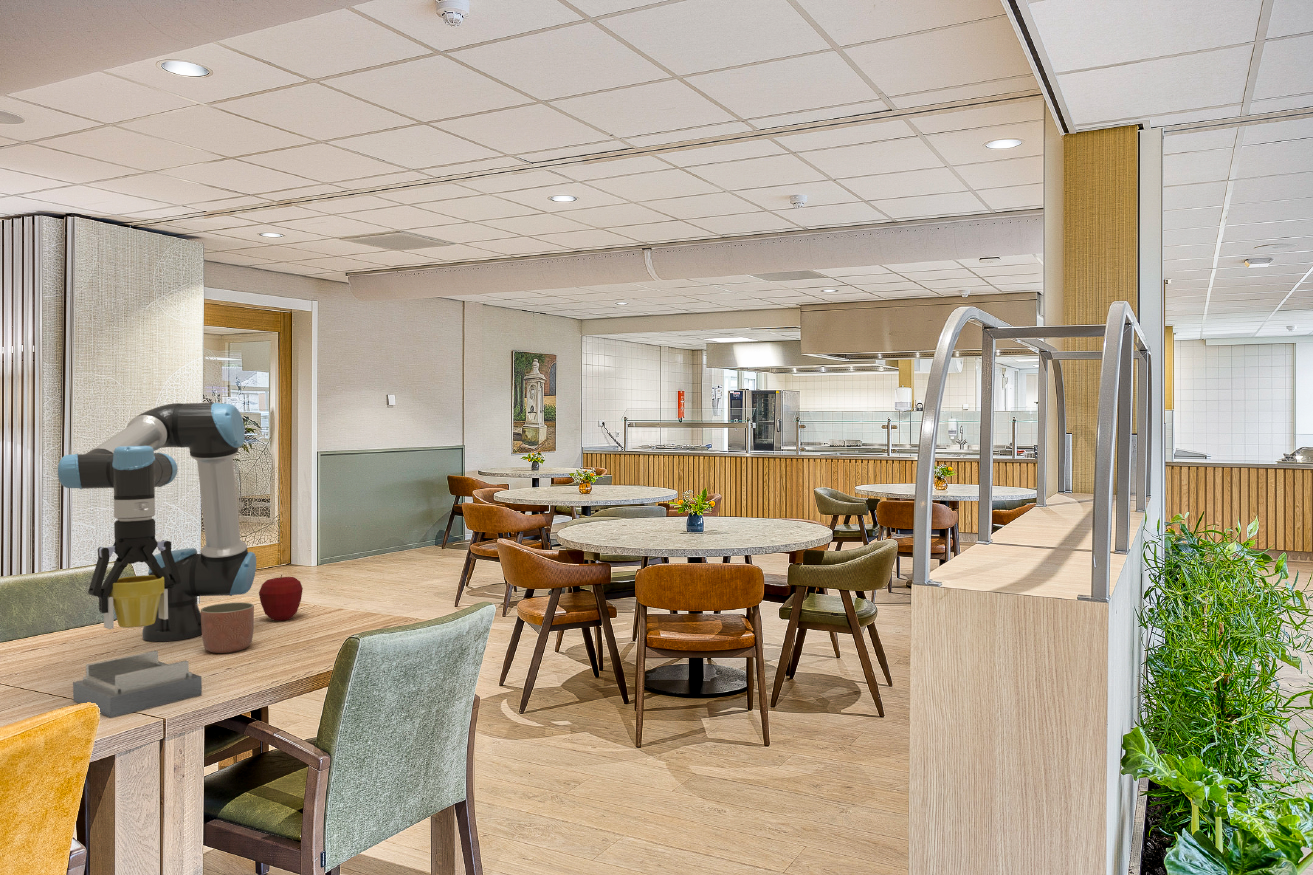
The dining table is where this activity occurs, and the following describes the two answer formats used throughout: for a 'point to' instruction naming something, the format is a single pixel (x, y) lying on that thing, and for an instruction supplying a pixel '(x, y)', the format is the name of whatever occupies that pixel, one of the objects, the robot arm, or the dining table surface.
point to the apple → (281, 597)
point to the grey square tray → (135, 684)
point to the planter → (227, 627)
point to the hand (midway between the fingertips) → (136, 623)
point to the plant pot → (137, 600)
